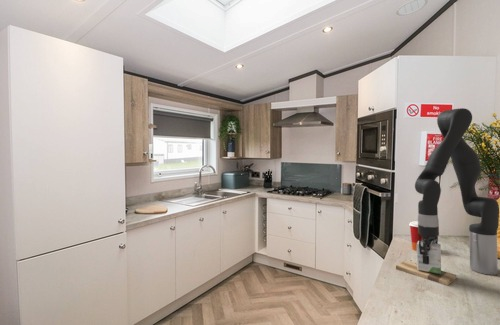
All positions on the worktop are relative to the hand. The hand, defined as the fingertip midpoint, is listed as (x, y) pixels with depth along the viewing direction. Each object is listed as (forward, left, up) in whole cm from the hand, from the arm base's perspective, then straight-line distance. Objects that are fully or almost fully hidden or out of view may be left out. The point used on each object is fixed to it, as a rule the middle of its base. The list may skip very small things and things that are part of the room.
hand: (429, 261), depth 112 cm
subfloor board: (0, -2, -6) cm, 6 cm away
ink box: (0, 0, -4) cm, 4 cm away
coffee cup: (-30, -16, -6) cm, 34 cm away
